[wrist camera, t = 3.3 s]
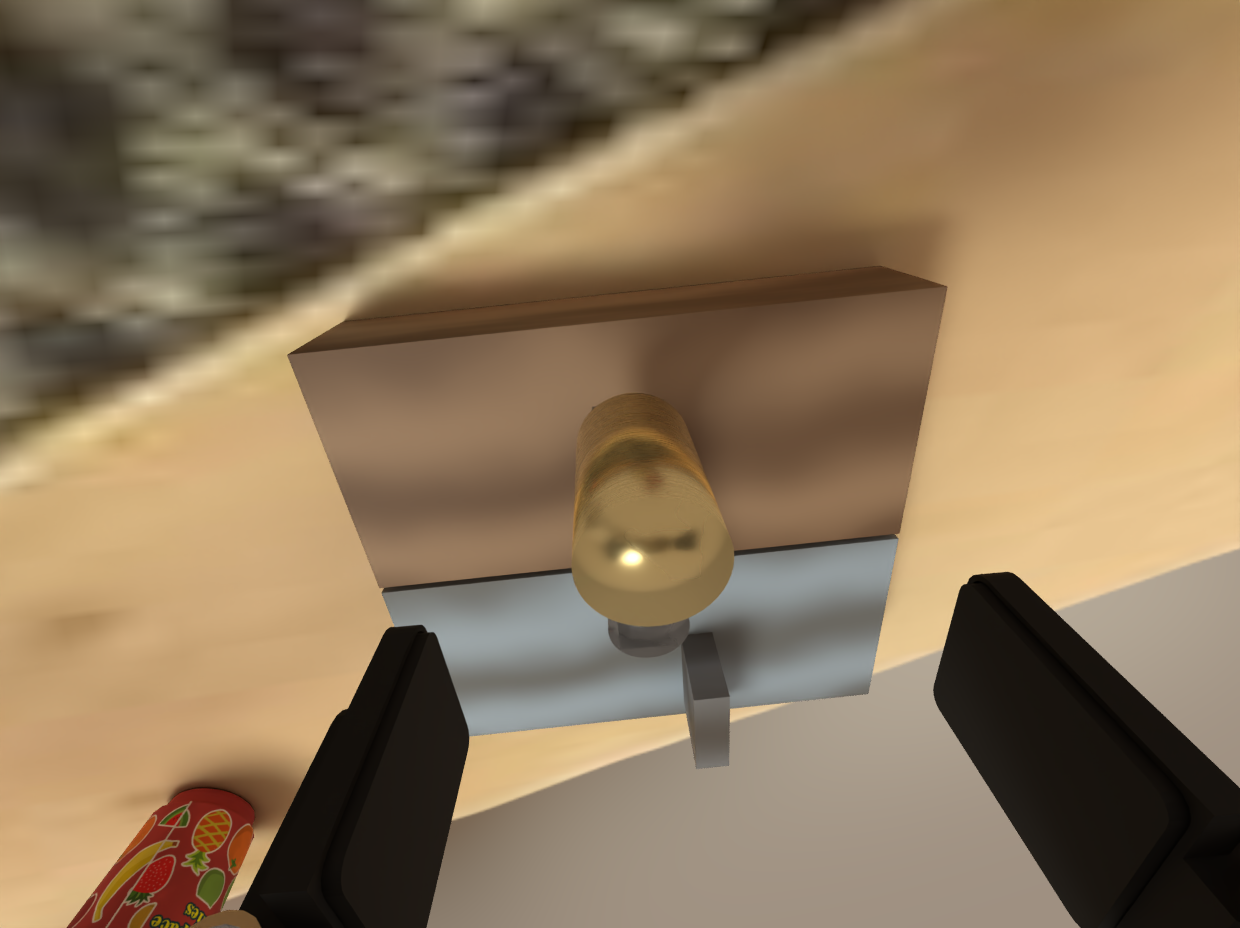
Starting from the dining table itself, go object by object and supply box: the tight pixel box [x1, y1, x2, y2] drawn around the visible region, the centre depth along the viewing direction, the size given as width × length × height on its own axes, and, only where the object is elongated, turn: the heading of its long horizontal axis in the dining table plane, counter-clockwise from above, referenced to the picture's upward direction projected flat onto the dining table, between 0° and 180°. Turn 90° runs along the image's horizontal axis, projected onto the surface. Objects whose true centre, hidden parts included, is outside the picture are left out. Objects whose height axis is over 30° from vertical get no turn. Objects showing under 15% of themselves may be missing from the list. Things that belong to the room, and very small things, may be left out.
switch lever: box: [572, 393, 734, 658], centre depth 17 cm, size 11×4×7 cm, turn 5°
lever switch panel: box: [287, 266, 947, 769], centre depth 25 cm, size 22×24×9 cm
